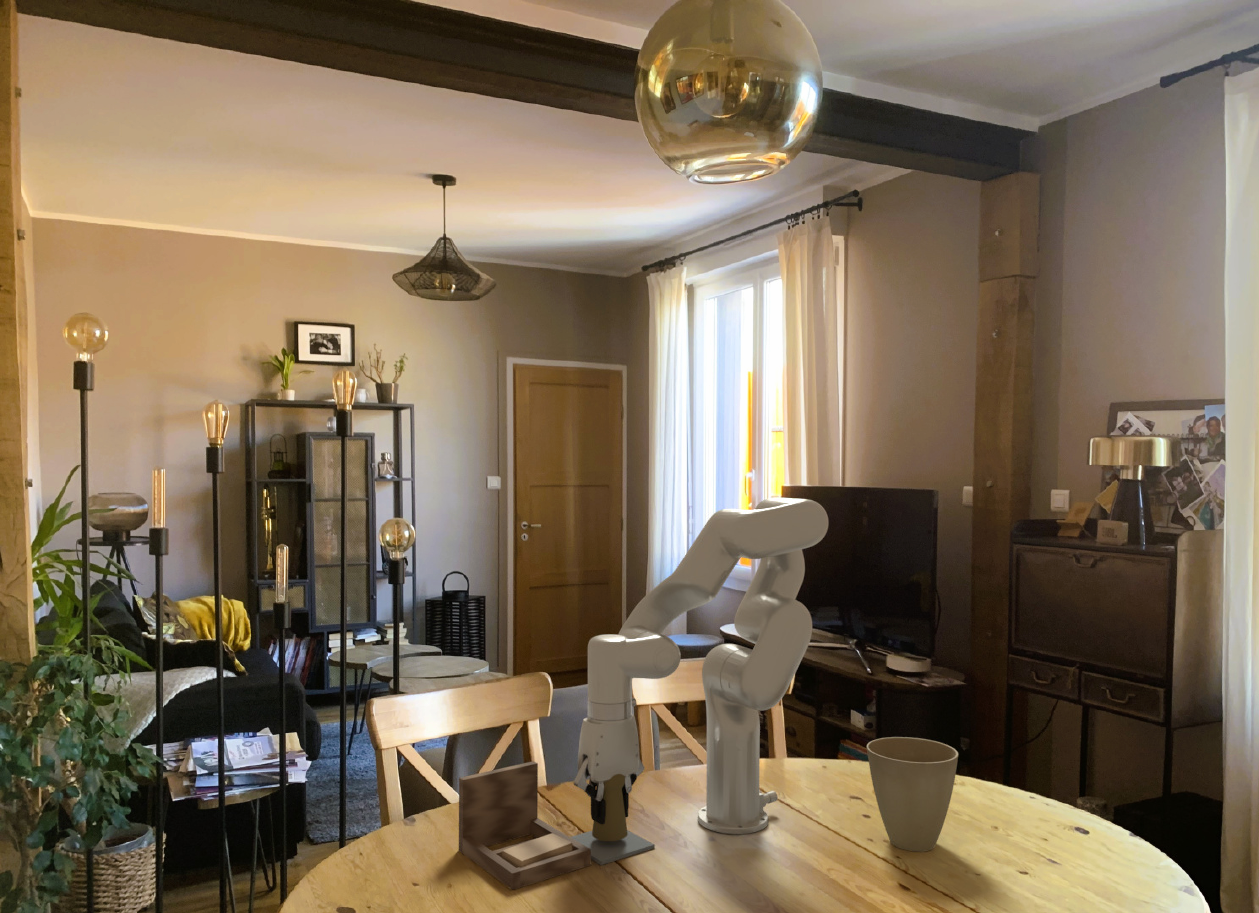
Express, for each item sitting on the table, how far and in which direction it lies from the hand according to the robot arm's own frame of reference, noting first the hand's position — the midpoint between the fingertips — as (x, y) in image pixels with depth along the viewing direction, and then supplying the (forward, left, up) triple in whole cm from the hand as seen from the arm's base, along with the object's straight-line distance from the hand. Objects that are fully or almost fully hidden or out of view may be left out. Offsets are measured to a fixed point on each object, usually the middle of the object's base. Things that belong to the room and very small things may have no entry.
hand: (609, 817), depth 153 cm
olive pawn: (0, 0, -3) cm, 3 cm away
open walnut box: (+14, -4, -5) cm, 16 cm away
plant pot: (-42, +30, -5) cm, 52 cm away
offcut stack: (+14, 0, -5) cm, 15 cm away
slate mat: (0, 0, -5) cm, 5 cm away
